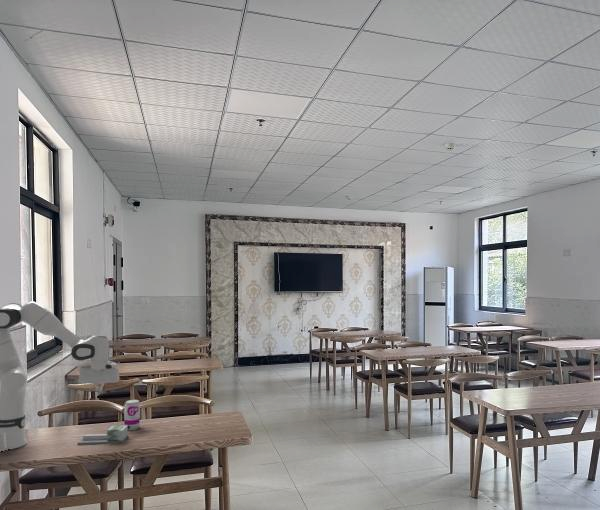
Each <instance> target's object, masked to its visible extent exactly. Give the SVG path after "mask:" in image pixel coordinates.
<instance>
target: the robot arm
mask: <svg viewBox="0 0 600 510" xmlns="http://www.w3.org/2000/svg"><path fill="white" fill-rule="evenodd" d="M20 322H21V323H22V322H24V323H26V324H27V325H29V326H30V327H31V328H33V329H34V330H35V331H36V332H38V333H40V334H42V335H43V336H51V337H54V338H57V339H58V340H60V341H62V342H63V343H65V344H66V345H67V346H68V347H70V348H71V350H70V352H71V357H72V358H73V359H74V360H76V361H80V362H81V361H82V362H83V361H86V360H89V359H90V365H81V366H80V367H79V374H78V375H79V376H78V383H79V384H93V387H94V389H95V392H102V391H103V387H104V385H105V383H106V384H108V383H113V384H114V383H117V382H119V380H120V371H119V368H118V366H119V365H118V363H117V362H114V361H111V360H109V348H110V347H109V345H110V344H109V338H108V337H107V336H105V335H103V334H94V335H92V336H91V337H89V338H87V339H84V338H81V337H80V336H79V337H78V336H77V335H76V334H75V333H74V332H72V331H71V330H70V329H68V328H67V327H66V326H65V325H64V324H63V323H62V322H61V320H59V318H58V317H57V316H56V315H55V314H54V312H51V311H50V310H49V309H48V308H47V307H44V306H43V305H41V304H39V303H37V302H35V301H29V302H26V303H24V305H21V304H19V303H16V302H15V303H13V302H12V303H8V304H5V305H3V306H1V307H0V453H2V452H1V451H3V452H6V451H9V450H8V449H10V450H13V449H17V448H21V447H23V446H25V445H26V444H28V441H27V437H26V431H25V430H26V428H25V427H26V414H25V407H26V403H25V402H26V395H27V394H26V392H27V383H28V381H27V374H26V372H25V370H24V368H23V365H22V363H21V362H22V361H21V360H20V356H19V353H18V351H17V349H16V347H15V344H14V340H13V338H12V335H11V331H10V330H11V328H12V327H15V325H18V324H19V323H20ZM98 384H100V386H98ZM5 450H6V451H5Z"/></svg>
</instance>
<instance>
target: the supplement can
mask: <svg viewBox="0 0 600 510" xmlns="http://www.w3.org/2000/svg"><path fill="white" fill-rule="evenodd" d="M123 410H124V415H123V416H124V417H123V418H124V419H123V420H124V421H123V422H124V423H123V426H128V431H134V430H137V429H139V428H140V426H141V420H140V419H141V402H140V400H139V399H129V400H126V401H125V403H124V409H123Z"/></svg>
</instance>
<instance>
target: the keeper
mask: <svg viewBox="0 0 600 510" xmlns="http://www.w3.org/2000/svg"><path fill="white" fill-rule="evenodd" d="M123 426H124V424H123V425H121V424H120V425H119V424H118V425H117V424H116V425H111V426H110V427H108V428H107V429H106V434H107V440H119V430H120V429H121V428H122V427H123Z"/></svg>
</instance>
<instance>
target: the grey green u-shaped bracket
mask: <svg viewBox="0 0 600 510" xmlns="http://www.w3.org/2000/svg"><path fill="white" fill-rule="evenodd" d="M128 431H129V430H128V426H124V425H123V427H122V428H121V429H120V430H119V440H107V433H102V434H100V433H97V434H96V433H95V434H83V435H82V439H80V440H79V441H78V442H77V446H78V445H79V446H83V445H87V446H88V445H106V444H107V445H108V444H110V445H111V444H113V445H114V444H123V443H124V442H125V441H126V439H128V437H129V434H128Z"/></svg>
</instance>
